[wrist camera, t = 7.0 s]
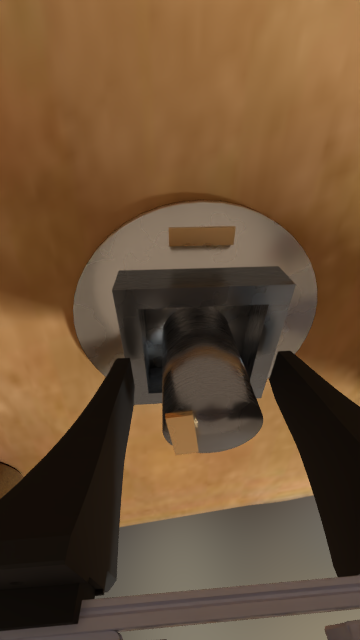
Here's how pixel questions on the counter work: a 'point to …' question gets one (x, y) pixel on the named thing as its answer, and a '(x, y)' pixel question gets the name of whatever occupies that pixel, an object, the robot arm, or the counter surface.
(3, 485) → the plant pot
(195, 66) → the counter surface
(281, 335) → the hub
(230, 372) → the shaft
